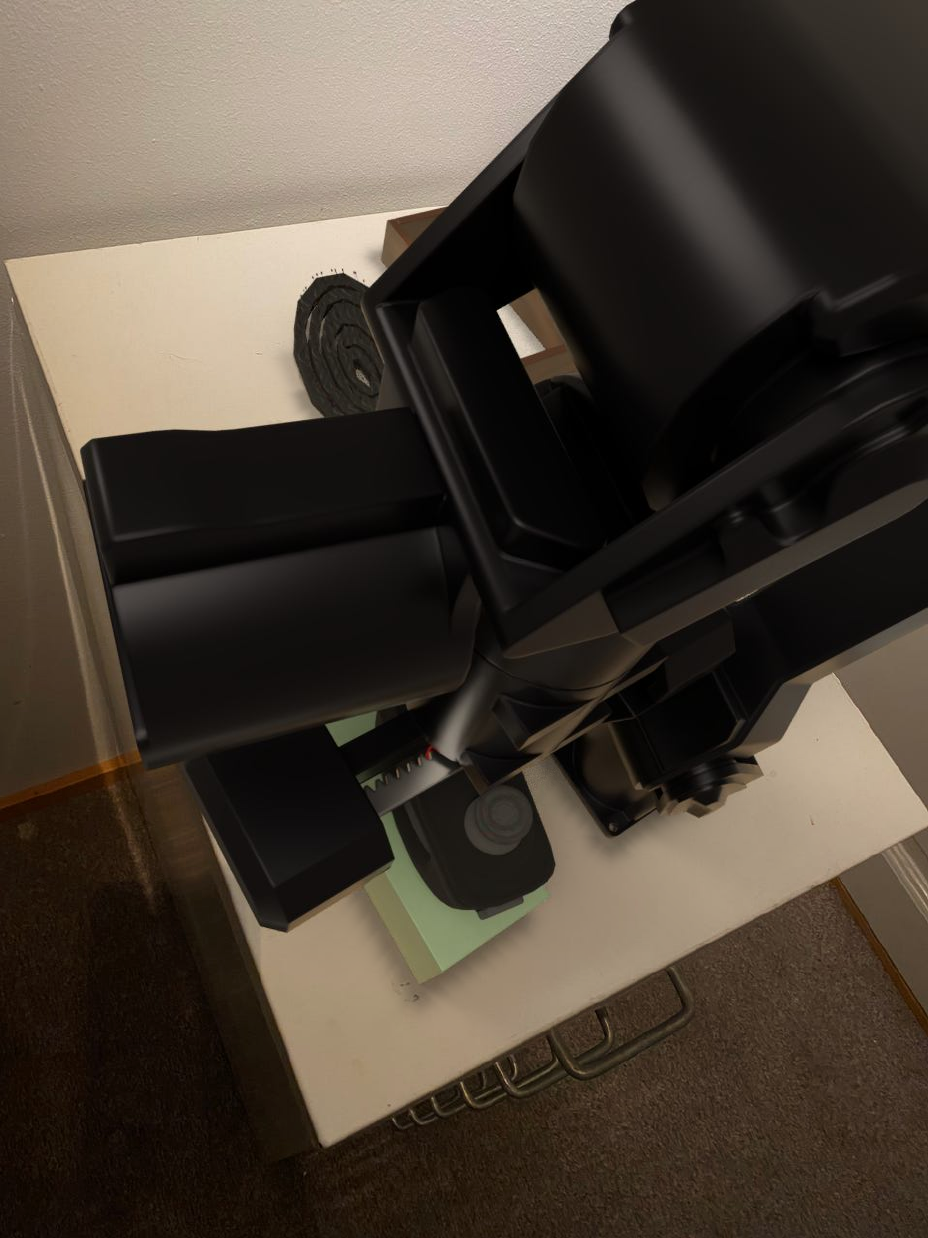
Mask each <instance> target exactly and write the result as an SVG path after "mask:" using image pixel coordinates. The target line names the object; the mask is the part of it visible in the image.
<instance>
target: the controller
mask: <svg viewBox="0 0 928 1238" xmlns="http://www.w3.org/2000/svg"><path fill="white" fill-rule="evenodd" d="M406 711H408V709H407V706H406V704H402V705H398V706H394V707H390V708H386V709H383V710H379V711H377V713H376V720H375V727H377V726H379V725H381V724H383V723H385V722H387V721H389V720H391V719H393V718H395V717H396V716H398V715H400V714H402V713H404V712H406ZM432 748H434V747H432V746H429V747H428V748H426V749H424V750H422V751H420V752H419V753H417V754H415V755H413V756H411V757H410V758H408V759H406V760H404V761H402V762H401V763H399V764H397V765H395V766H393V767H392V768H390V769H388V770H386V771H384V772H383V773H381V775H382V779H383V782H384V783H385V784H387V783H386V778H385V776H386V774H387V773H389V772H390V773H391V774H393V775H394V776H395V777H396V778H398V777H397V772H396V770H397V768H398V767H400V766H401V767H403V768H404V769H405V770H406V771H407V772H409V771H408V767H407V764H408V762H409V761H410V760H412V761H414V762H415V763H416V764H417V765H418V766H419V762H418V757H419V755H421V754H423V755H424V756H426V757H427V758H428V759H429V760H430V758H429V753H428V752H429V751H430V749H432ZM434 749H435V748H434ZM435 750H436V749H435ZM436 751H437V750H436ZM437 752H438V751H437ZM439 753H440V752H439ZM392 814H393V818H394V821H395V824H396V827H397V829H398V832H399V834H400V836H401V839H402V841H403V843H404V846H405V848H406V850H407V853H408V855H409V857H410V859H411V861H412V863H413V865H414V867H415V868H416V870H417V872H418V873H419V875H420V876H421V878H422V880H423V881H424V883H425V884H426V885H427V887H428V888H429V889H430V891H431V892H432V893H433V894H434V895H435V896H436V897H437V898H438V899H439V900H440V901H441V902H443V903H444V904H446V905H447V906H449V907H451V908H453V909H459V910H475V911H476V912H477V914H478V916H479V918H480V919H481V920H484V919H487V918H489V917H492V916H495V915H497V914H500V913H502V912H504V911H507V910H509V909H511V908H514V907H516V906H518V905H520V904H522V903H523V902H524V899H523V896H525V895H527V894H529V893H532V892H534V891H535V890H537V889H538V888H539V887H541V886H542V885H544V886H545V884H547V883H548V882H549V880H550V879H551V878H552V876H554V873H555V868H556V865H557V864H556V859H555V855H554V852H553V848H552V844H551V842H550V839H549V836H548V834H547V831H546V829H545V826H544V824H543V821H542V819H541V815H540V813H539V810H538V808H537V805H536V802H535V800H534V797H533V795H532V792H531V789H530V787H529V785H528V782H527V780H526V776H525V775H524V773H523V771H521V772H520V773H518V774H516V775H515V776H513V777H511V778H510V779H508V780H506V781H505V782H503V783H501V784H500V785H498V786H496V787H495V788H493V789H492V790H490V791H488V792H487V793H485V794H483V795H482V796H480V795H479V793H478V792H477V790H476V788H475V787H474V785H473V784H472V782H471V781H470V779H469V777H468V776H467V774H466V773H465V771H464V770H461V771H460V772H458V773H456V774H455V775H453V776H451V777H449V778H448V779H446V780H444V781H442V782H441V783H439V784H437V785H436V786H434V787H432V788H430V789H429V790H427V791H425V792H424V793H422V794H420V795H418V796H417V797H415V798H413V799H411V800H410V801H408V802H406V803H405V804H403V805H401V806H399V807H398V808H396V809H394V810H393V811H392Z"/></svg>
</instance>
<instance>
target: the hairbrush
mask: <svg viewBox="0 0 928 1238" xmlns="http://www.w3.org/2000/svg"><path fill="white" fill-rule="evenodd" d="M333 271H334V272H335V273H334V274H333V273H332V272H333ZM330 272H331V273H332V274H329V275H324V276H323V271H320V275H321V276H319V277H318V275H319V273H318V272H316V273H315V275H316V277H314V275H311V279H313V281H312V282H311V283H310V285H309V286H308V287H307V286H304V289H303V290H302V292H303V294H300V295H299V299H298V300H297V304H296V308H295V309H296V310H295V315H294V323H293V351H292V352H293V354H292V355H293V358H294V360H295V363H296V366H297V369H298V372H299V375H300V377H301V379H302V382H303V385H304V388H305V390H306V392H307V395H308V397H309V400H310V403H311V405H312V406H314V408H315V409H316V410H317V411H318V412H319V413H320V414H321V415H322V416H323V417H330V416H338V415H346V414H354V413H361V412H369V411H375V409H376V405H377V401H378V396H379V390H380V385H381V379H382V374H383V369H384V363H383V361H382V358H381V356H380V353H379V351H378V348H377V346H376V343H375V341H374V339H373V336H372V334H371V331H370V329H369V326H368V324H367V321H366V319H365V317H364V314H363V312H362V308H361V303H360V301H361V298H362V295H363V294H364V293H365V291H366V290H367V289H368V288H369V287H370V286H368V285H366V284H365V283H366V282H365V279H362V282H363V283H362V282H361V281H359V280H358V279H356V278H355V277H358V276H357V271H355V270H354V271H352V272H353V275H354V276H355V277H352V276H350V275H348V274H347V273H345V271H344V268H341V272H339V273H337V269H336V268H334V270H333V268H330ZM309 318H310V321H309ZM308 323H309V327H308ZM322 323H323V325H322ZM307 328H309V329H308V336H307ZM321 328H322V331H321ZM320 333H321V336H320ZM336 338H337V340H336ZM356 368H359V370H360V371H361V373H362V374H363V376H362V377H361V379H360V378H358V376H357V373H356V372H357V370H356ZM364 377H365V378H366V381H367V382H368V384H366V383H365V381H363V380H364Z"/></svg>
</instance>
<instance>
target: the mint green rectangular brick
mask: <svg viewBox="0 0 928 1238" xmlns="http://www.w3.org/2000/svg"><path fill="white" fill-rule="evenodd" d="M376 713H377V711H375V712H371V713H367V714H363V715H360V716H356V717H352V718H348V719H344V720H341V721H337V722H333V723H329V724H325V725H326V727H327V728H328V730H329V732H330V734H331V735H332V737H333V739H334V740H335V742H336V744H337V745H338V747H339V746H341V745H343V744H345V743H347V742H349V741H351V740H353V739H355V738H356V737H358V736H360V735H362V734H364V733H366V732H368V731H370V730H372V729H374V728H375V720H376ZM378 778H379V779H380V780H381V781H382V782H383V779H382V775H381V774H379V775H377V776H375V777H373V778H372V779H370V780H368V781H366V782H364V783H363V784H361V786H362V788H364V786H365V785H368V786H369V787H371V788H372V789H373V790H374V791H376V790H375V785H374V782H375V780H376V779H378ZM380 819H381V820H382V822H383V824H384V827H385V830H386V833H387V836H388V839H389V842H390V845H391V848H392V851H393V854H394V857H395V860H394V861H393V863H392V864H391V868H390V869H388V870H387V871H385V872H383V873H382V874H380V875H378V876H377V877H375V878H374V879H372V880H371V881H370V882H368V883H367V884H366V885H364V886H363V888H364V889H365V891H366V893H367V895H368V897H369V899H370V900H371V902H372V904H373V905H374V908H375V909H376V911H377V912H378V914H379V915H380V918H381V920H382V922H383V923H384V925H385V927H386V929H387V930H388V932H389V934H390V936H391V937H392V939H393V940H394V943H395V944H396V946H397V948H398V950H399V951H400V953H401V955H402V956H403V959H404V960H405V962H406V964H407V965H408V967H409V969H410V971H411V972H412V974H413V977H414V978H415V980H416V981H417V983H418V984H419V985H420V984H423V983H424V982H425V983H426V982H427V981H429V980H431V979H432V978H434V977H436V976H438V975H441V974H442V973H444V972H446V971H447V970H449V969H450V968H451V967H453V966H455V965H456V964H457V963H458V962H460V961H462V960H463V959H464V958H466V957H467V956H469V955H471V954H472V953H473V952H474V951H476V950H477V949H479V948H480V947H481V946H484V944H486V943H488V942H489V941H490V940H492V939H493V938H494V937H496V936H497V935H499V934H500V933H501V932H503V931H504V930H506V929H507V928H509V927H510V926H512V925H513V924H515V923H516V922H517V921H518V920H520V919H522V918H523V917H524V916H526V915H528V913H530V912H531V911H533V910H534V909H536V908H537V907H539V906H540V905H542V904H543V903H544V902H546V901H547V900H549V899H550V898H551V896H552V895H551V893H550V892H549V891H548V889H547V887H546V886H545V884H544V885H542V886H541V887H539V888H538V889H537V890H535V891H534V892H532V893H529V894H527V895H525V896H523V899H524V902H523V903H522V904H520V905H518V906H516V907H514V908H511V909H509V910H507V911H504V912H502V913H500V914H497V915H495V916H492V917H489V918H487V919H484V920H481V919H480V918H479V916H478V914H477V912H476V911H475V910H459V909H453V908H451V907H449V906H447V905H446V904H444V903H443V902H441V901H440V900H439V899H438V898H437V897H436V896H435V895H434V894H433V893H432V892H431V891H430V889H429V888H428V887H427V885H426V884H425V883H424V881H423V880H422V878H421V876H420V875H419V873H418V872H417V870H416V868H415V867H414V865H413V863H412V861H411V859H410V857H409V855H408V853H407V850H406V848H405V846H404V843H403V841H402V839H401V836H400V834H399V832H398V829H397V827H396V824H395V821H394V818H393V814H392V811H391V812H389V813H387V814H386V815H384V816H382V817H380Z"/></svg>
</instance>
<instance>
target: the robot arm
mask: <svg viewBox="0 0 928 1238" xmlns="http://www.w3.org/2000/svg"><path fill="white" fill-rule="evenodd" d="M447 206H448V207H447V208H446V209H445V210H444V211H443V212H442V213H441V214H440V215H439V216H438V217H437V218H436V219H435V220H434V221H433V222H432V223H431V224H430V225H429V226H428V227H427V228H426V229H425V230H424V231H423V233H422V234H421V235H420V236H419V237H418V238H417V239H416V240H415V241H414V242H413V243H412V244H411V245H410V246H409V247H408V248H407V249H406V250H405V251H404V252H403V253H402V254H401V255H400V256H399V257H398V258H397V259H396V260H395V261H394V262H393V263H392V265H391V266H390V267H389V268H386V270H385V271H383V272H382V273H381V275H379V276H378V278H377V279H376V280H375V281H374V282H373V283H371V285H370V286H368V287H369V288H368V289H367V290H366V291H365V293H364V294H363V295H362V298H361V301H360V303H361V308H362V312H363V314H364V317H365V319H366V321H367V324H368V326H369V329H370V331H371V334H372V336H373V339H374V341H375V343H376V346H377V348H378V351H379V353H380V356H381V358H382V361H383V363H384V369H383V374H382V379H381V385H380V390H379V396H378V401H377V405H376V409H375V411H369V412H361V413H354V414H346V415H338V416H330V417H324V416H323V417H316V418H308V419H301V420H293V421H284V422H278V423H270V424H262V425H255V426H247V427H239V428H229V429H215V430H213V429H212V430H210V429H209V430H208V429H184V428H183V429H181V428H179V429H178V428H172V429H159V430H149V431H142V432H141V431H140V432H133V433H126V434H118V435H110V436H109V435H108V436H101V437H94V438H91V439H89V440H88V441H87V442H86V443H84V444H83V445H82V446H81V447H80V449H79V455H80V460H81V464H82V469H83V473H84V478H83V479H81V483H82V489H83V493H84V498H85V502H86V507H87V512H88V517H89V522H90V527H91V531H92V537H93V541H94V546H95V551H96V556H97V561H98V566H99V570H100V575H101V580H102V584H103V590H104V594H105V599H106V603H107V608H108V609H107V610H108V614H109V619H110V623H111V628H112V633H113V637H114V643H115V649H116V652H117V658H118V661H119V667H120V672H121V676H122V681H123V685H124V691H125V696H126V702H127V705H128V710H129V715H130V721H131V724H132V725H131V726H132V730H133V735H134V740H135V744H136V747H137V751H138V754H139V758H140V760H141V763H142V765H143V767H144V769H145V771H146V772H149V771H154V770H157V769H160V768H164V767H167V766H172V765H175V764H179V768H180V773H181V776H182V778H183V780H184V782H185V784H186V786H187V788H188V790H189V792H190V793H191V795H192V797H193V799H194V801H195V803H196V805H197V807H198V809H199V810H200V813H201V815H202V817H203V819H204V821H205V823H206V824H207V827H208V829H209V830H210V832H211V834H212V836H213V838H214V840H215V842H216V844H217V846H218V848H219V850H220V852H221V853H222V856H223V858H224V859H225V862H226V863H227V865H228V868H229V870H230V871H231V873H232V875H233V877H234V879H235V881H236V883H237V885H238V887H239V888H240V890H241V893H242V895H243V897H244V898H245V900H246V902H247V904H248V907H249V908H250V910H251V912H252V914H253V917H254V918H255V920H256V922H257V923H258V925H259V927H261V928H265V929H269V930H273V931H276V932H281V933H285V934H288V933H289V932H291V931H293V930H294V929H296V928H298V927H299V926H301V925H303V924H304V923H306V922H307V921H309V920H310V919H313V918H315V917H316V916H317V915H318V914H320V913H322V912H324V911H325V910H327V909H328V908H330V907H332V906H333V905H335V904H337V903H338V902H340V901H341V900H343V899H344V898H346V897H348V896H350V895H352V894H353V893H355V892H357V891H358V890H359V889H361V888H364V885H366V884H367V883H368V882H370V881H371V880H372V879H374V878H375V877H377V876H378V875H380V874H382V873H383V872H385V871H387V870H388V869H390V868H391V864H392V863H393V861H394V860H395V857H394V854H393V851H392V848H391V845H390V842H389V839H388V836H387V833H386V830H385V827H384V824H383V822H382V820H381V819H380V817H382V816H384V815H386V814H387V813H389V812H391V811H393V810H394V809H396V808H398V807H399V806H401V805H403V804H405V803H406V802H408V801H410V800H411V799H413V798H415V797H417V796H418V795H420V794H422V793H424V792H425V791H427V790H429V789H430V788H432V787H434V786H436V785H437V784H439V783H441V782H442V781H444V780H446V779H448V778H449V777H451V776H453V775H455V774H456V773H458V772H460V771H461V770H464V771H465V773H466V774H467V776H468V777H469V779H470V781H471V782H472V784H473V785H474V787H475V788H476V790H477V792H478V793H479V795H480V796H482V795H483V794H485V793H487V792H488V791H490V790H492V789H493V788H495V787H496V786H498V785H500V784H501V783H503V782H505V781H506V780H508V779H510V778H511V777H513V776H515V775H516V774H518V773H520V772H521V771H522V772H523V771H525V770H527V769H528V768H530V767H531V766H533V765H535V764H536V763H538V762H539V761H542V760H543V759H545V758H546V757H548V756H551V758H552V759H553V761H554V762H555V764H556V765H557V766H558V768H559V769H560V771H561V773H562V774H563V776H564V777H565V779H566V780H567V782H568V783H569V784H570V786H571V787H572V789H573V790H574V791H575V793H576V794H577V796H578V798H579V799H580V801H581V803H582V804H583V805H584V807H585V808H586V809H587V811H588V813H589V814H590V815H591V817H592V818H593V820H594V821H595V822H596V824H597V826H598V827H599V829H600V830H601V832H602V833H603V834H604V836H605V837H606V838H609V839H614V838H616V837H618V836H620V835H622V834H623V833H624V832H626V831H627V830H628V829H630V828H631V827H633V826H635V825H636V824H637V823H639V822H640V821H642V820H643V819H644V818H646V817H648V816H649V815H650V814H652V813H653V812H654V811H657V813H658V816H659V817H662V816H665V815H668V816H669V817H670V816H673V815H675V814H676V815H677V814H679V813H685V812H686V813H688V814H689V815H692V816H694V817H696V818H697V819H700V818H704V817H707V816H709V815H711V814H713V813H714V812H717V811H718V810H719V809H721V808H723V807H724V806H725V805H726V802H727V799H728V797H729V796H731V795H733V794H736V793H739V792H742V791H743V790H746V789H747V788H748V786H747V784H749V783H752V782H753V781H756V780H757V779H760V778H761V777H763V776H765V774H764V773H763V770H762V768H761V766H760V764H759V762H758V761H757V759H756V756H755V755H757V754H759V753H760V752H763V751H764V750H767V749H769V748H770V747H772V746H773V745H776V744H778V743H780V741H782V739H783V738H784V736H785V735H786V733H787V731H788V729H789V727H790V726H791V723H792V722H793V720H794V718H795V717H796V715H797V713H798V711H799V709H800V707H801V705H802V703H803V702H804V701H805V698H806V696H807V694H808V693H809V691H810V690H811V688H812V685H813V684H815V683H817V682H818V681H820V680H822V679H824V678H826V677H828V676H830V675H832V674H834V673H835V672H837V671H839V670H841V669H843V668H845V667H847V666H850V665H851V664H853V663H855V662H857V661H858V660H861V659H863V658H864V657H866V656H869V655H871V654H872V653H874V652H876V651H878V650H880V649H882V648H884V647H885V646H888V645H890V644H891V643H893V642H896V641H897V640H899V639H901V638H903V637H906V636H907V635H909V634H911V633H912V632H914V631H916V630H918V629H920V628H922V627H925V626H926V625H928V0H633V1H631V2H630V3H628V4H626V5H625V6H624V7H623V8H622V9H621V10H620V11H619V12H618V13H617V14H616V16H615V17H614V19H613V21H612V23H611V25H610V28H609V32H608V40H607V42H605V44H604V45H603V46H602V47H600V49H599V50H598V51H597V52H596V53H595V54H593V56H592V57H591V58H590V59H588V61H587V62H586V63H585V64H584V65H583V66H582V67H581V68H580V69H579V70H578V71H577V72H576V73H575V74H574V75H573V77H572V78H570V79H569V80H568V82H567V83H566V84H565V85H564V86H563V87H561V89H560V90H559V91H558V92H557V93H556V94H555V95H554V96H553V97H552V98H551V99H550V100H549V101H548V102H547V103H546V104H545V105H544V106H543V107H542V109H540V111H538V112H537V113H536V115H534V116H533V118H532V119H531V120H530V121H528V123H527V124H526V125H525V126H524V127H523V128H522V129H521V130H520V131H519V132H518V133H517V134H516V135H515V136H514V138H512V140H510V141H509V142H508V144H506V146H504V148H502V150H501V151H500V152H499V153H498V154H497V155H496V156H495V157H494V158H493V159H492V160H491V161H490V162H489V163H488V164H487V165H486V166H485V167H484V169H482V171H480V172H479V173H478V174H477V176H476V177H474V178H473V180H471V182H470V183H469V184H468V185H467V186H466V187H464V189H463V190H462V191H461V192H460V193H459V194H458V195H457V196H456V197H455V198H454V199H453V200H452V202H450V204H448V205H447ZM534 289H535V290H536V292H537V294H538V296H539V297H540V299H541V301H542V303H543V305H544V307H545V309H546V311H547V313H548V315H549V316H550V318H551V320H552V322H553V324H554V326H555V328H556V330H557V332H558V334H559V335H560V337H561V339H562V341H563V343H564V345H565V347H566V349H567V351H568V353H569V354H570V356H571V358H572V360H573V362H574V364H575V366H576V368H577V370H578V373H570V374H562V375H555V376H553V377H552V378H550V379H546V380H543V381H541V382H539V383H536V384H534V385H533V383H532V381H531V379H530V377H529V375H528V373H527V371H526V369H525V367H524V365H523V363H522V361H521V359H520V358H521V356H520V355H519V352H518V351H517V349H516V346H515V344H514V343H513V341H512V338H511V337H510V334H509V332H508V330H507V328H506V326H505V324H504V322H503V320H502V318H501V316H500V314H499V312H498V311H499V310H501V309H502V308H504V307H506V306H508V305H510V304H509V303H511V302H513V301H515V300H516V299H518V298H520V297H522V296H524V295H525V294H527V293H529V292H531V291H532V290H534ZM402 704H406V706H407V709H408V711H406V712H404V713H402V714H400V715H398V716H396V717H395V718H393V719H391V720H389V721H387V722H385V723H383V724H381V725H379V726H377V727H375V728H374V729H372V730H370V731H368V732H366V733H364V734H362V735H360V736H358V737H356V738H355V739H353V740H351V741H349V742H347V743H345V744H343V745H341V746H339V747H338V745H337V744H336V742H335V740H334V739H333V737H332V735H331V734H330V732H329V730H328V728H327V727H326V725H325V724H329V723H333V722H337V721H341V720H344V719H348V718H352V717H356V716H360V715H363V714H367V713H371V712H375V711H379V710H383V709H386V708H390V707H394V706H398V705H402ZM429 746H432V747H434V748H435V749H436V750H437V751H438V752H437V751H436V750H435V749H434V748H432V749H430V751H429V752H428V753H429V758H430V760H429V759H428V758H427V757H426V756H424V755H423V754H421V755H419V757H418V762H419V766H418V765H417V764H416V763H415V762H414V761H412V760H410V761H409V762H408V764H407V767H408V771H409V772H407V771H406V770H405V769H404V768H403V767H401V766H400V767H398V768H397V770H396V772H397V777H398V778H396V777H395V776H394V775H393V774H391V773H390V772H389V773H387V774H386V776H385V778H386V783H387V784H385V783H384V782H382V781H381V780H380V779H379V778H378V779H376V780H375V782H374V785H375V790H376V791H374V790H373V789H372V788H371V787H369V786H368V785H365V786H364V788H362V786H361V784H363V783H364V782H366V781H368V780H370V779H372V778H373V777H375V776H377V775H379V774H381V773H383V772H384V771H386V770H388V769H390V768H392V767H393V766H395V765H397V764H399V763H401V762H402V761H404V760H406V759H408V758H410V757H411V756H413V755H415V754H417V753H419V752H420V751H422V750H424V749H426V748H428V747H429ZM439 752H440V753H439ZM610 825H611V826H613V828H614V831H612V830H611V828H610Z"/></svg>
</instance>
